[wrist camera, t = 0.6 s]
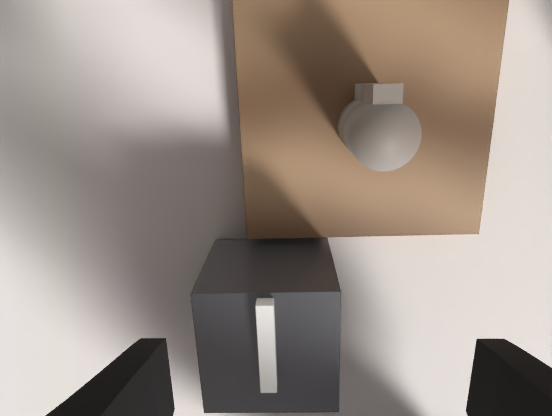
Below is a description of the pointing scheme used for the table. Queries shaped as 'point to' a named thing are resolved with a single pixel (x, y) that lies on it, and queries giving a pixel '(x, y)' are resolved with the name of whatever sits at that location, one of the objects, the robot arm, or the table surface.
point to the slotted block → (268, 326)
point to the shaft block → (366, 114)
